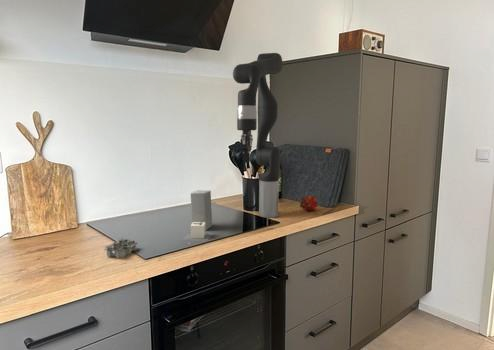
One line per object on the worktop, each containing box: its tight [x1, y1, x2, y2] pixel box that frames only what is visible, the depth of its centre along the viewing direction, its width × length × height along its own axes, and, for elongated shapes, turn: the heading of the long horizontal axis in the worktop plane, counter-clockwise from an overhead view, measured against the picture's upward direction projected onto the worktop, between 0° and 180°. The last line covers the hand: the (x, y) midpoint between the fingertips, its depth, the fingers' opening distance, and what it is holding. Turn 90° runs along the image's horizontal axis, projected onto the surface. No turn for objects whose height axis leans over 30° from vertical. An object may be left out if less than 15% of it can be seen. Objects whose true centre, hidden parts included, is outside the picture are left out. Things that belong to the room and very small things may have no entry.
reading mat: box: [181, 231, 215, 242], centre depth 143 cm, size 10×10×1 cm
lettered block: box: [190, 222, 206, 238], centre depth 143 cm, size 5×5×5 cm
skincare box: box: [190, 189, 213, 231], centre depth 154 cm, size 8×7×16 cm
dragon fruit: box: [299, 195, 319, 212], centre depth 185 cm, size 8×8×12 cm
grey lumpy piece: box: [103, 237, 139, 259], centre depth 125 cm, size 11×8×4 cm
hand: (246, 162), depth 142 cm, fingers closed
